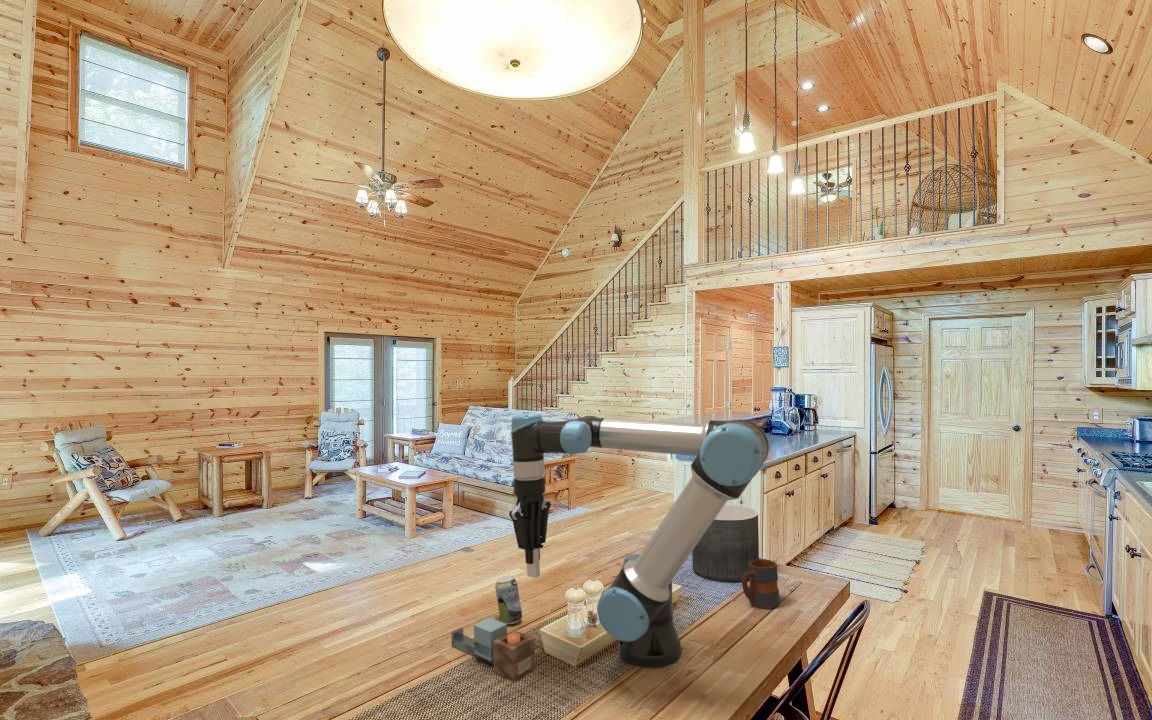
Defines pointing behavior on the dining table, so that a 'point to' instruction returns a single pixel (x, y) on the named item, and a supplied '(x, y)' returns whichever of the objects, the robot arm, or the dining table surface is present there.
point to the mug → (762, 584)
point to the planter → (728, 545)
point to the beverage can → (508, 600)
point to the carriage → (487, 637)
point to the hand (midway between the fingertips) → (533, 575)
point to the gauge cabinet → (514, 656)
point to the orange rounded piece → (513, 638)
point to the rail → (465, 643)
